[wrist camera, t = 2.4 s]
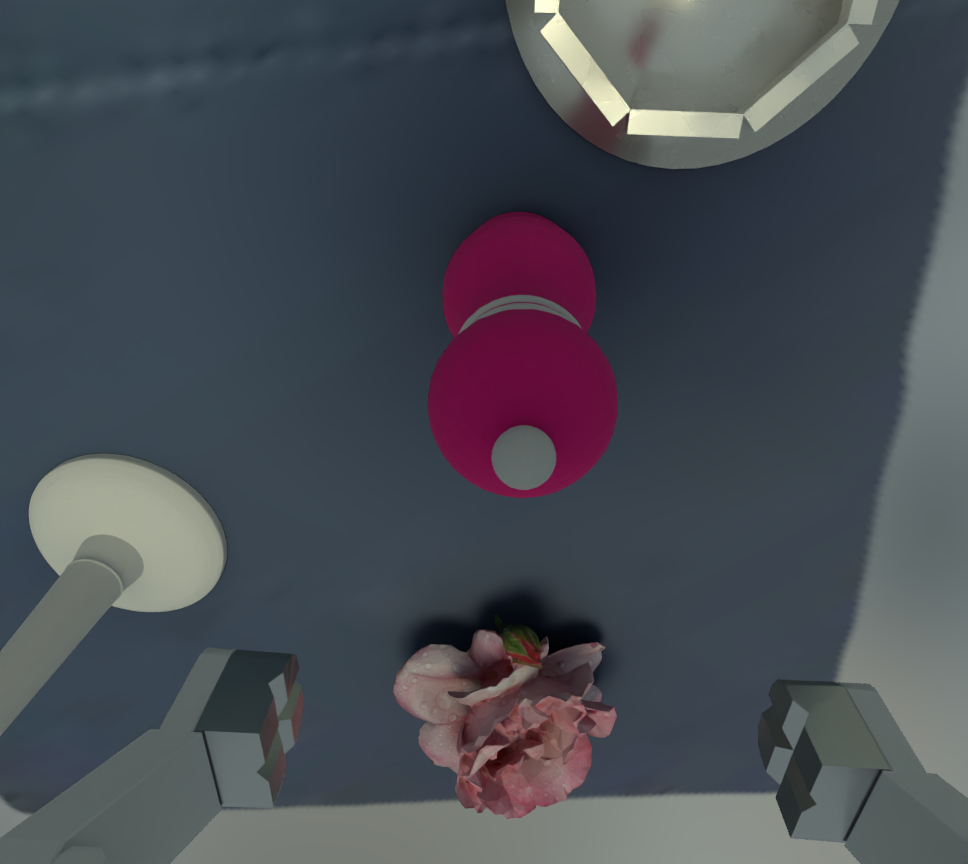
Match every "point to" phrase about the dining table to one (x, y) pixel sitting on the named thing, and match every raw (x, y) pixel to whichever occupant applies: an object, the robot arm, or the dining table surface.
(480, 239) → the pepper mill
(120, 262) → the dining table surface
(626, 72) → the silver metal plate
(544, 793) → the flower
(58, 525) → the candlestick
